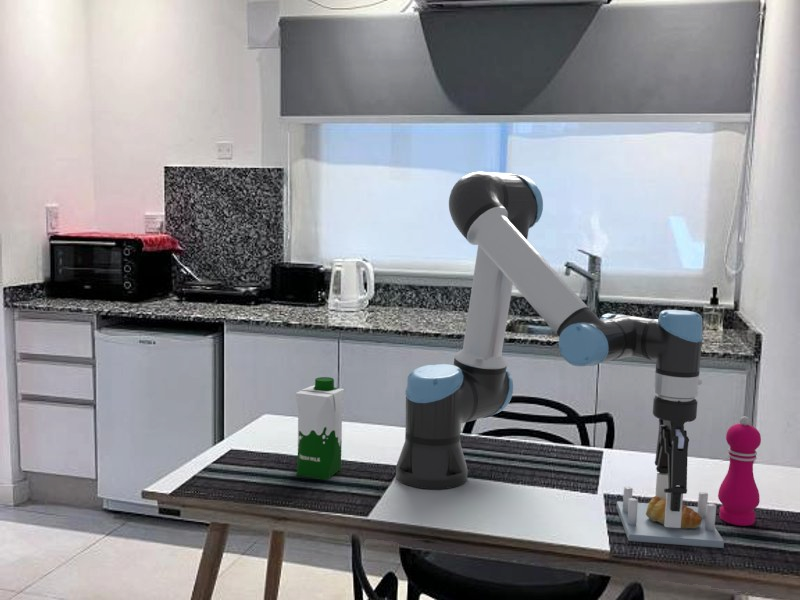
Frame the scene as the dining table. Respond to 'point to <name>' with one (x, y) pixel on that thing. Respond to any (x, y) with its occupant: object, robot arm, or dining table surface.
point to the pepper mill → (740, 475)
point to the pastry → (658, 513)
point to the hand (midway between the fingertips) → (667, 516)
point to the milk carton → (319, 429)
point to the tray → (655, 532)
